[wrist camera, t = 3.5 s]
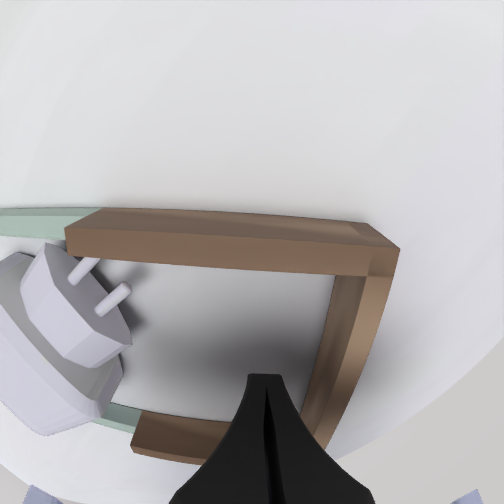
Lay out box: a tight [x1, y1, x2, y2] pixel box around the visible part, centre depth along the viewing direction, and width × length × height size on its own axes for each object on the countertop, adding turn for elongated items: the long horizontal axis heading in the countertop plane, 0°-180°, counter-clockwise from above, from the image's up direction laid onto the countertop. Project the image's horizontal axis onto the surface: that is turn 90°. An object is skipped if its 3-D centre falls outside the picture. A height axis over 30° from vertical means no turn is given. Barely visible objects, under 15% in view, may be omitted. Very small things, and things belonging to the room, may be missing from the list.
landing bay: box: [0, 208, 142, 434], centre depth 12 cm, size 14×18×2 cm
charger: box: [0, 243, 133, 436], centre depth 11 cm, size 5×9×15 cm
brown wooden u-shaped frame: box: [64, 208, 400, 465], centre depth 12 cm, size 14×11×3 cm
